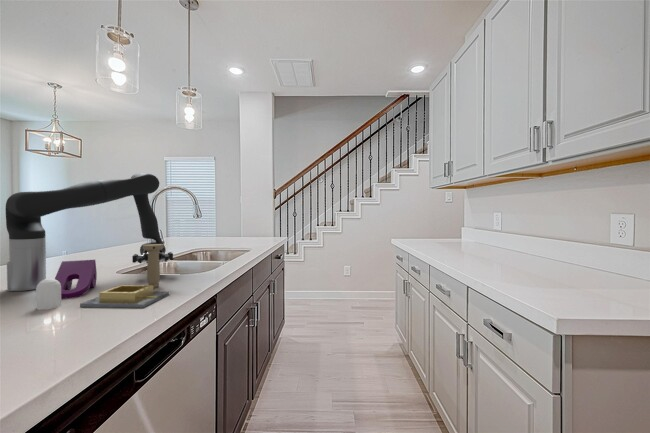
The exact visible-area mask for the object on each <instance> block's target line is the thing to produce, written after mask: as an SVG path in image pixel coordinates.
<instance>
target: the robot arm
mask: <svg viewBox="0 0 650 433" xmlns="http://www.w3.org/2000/svg"><path fill="white" fill-rule="evenodd" d="M159 186H160V180H159V178H158V177H157V175H156V176H155V175H154V174H152V173H146V172H143V173H141V172H139V173H134V174H133V175H132V176H130V177H129V178H123V179H121V178H120V179H118V178H117V179H116V178H115V179H100V180H99V179H98V180H93V181H85V182H80V183H77V184H74V185H71V186H68V187H64V188H61V189H56V190H55V189H54V190H43V191H42V190H40V191H19V192H15V193H13V194H11V195H9V196H8V198H7V200H6V203H5V226H6V231H7V233H8V246H9V247H8V251H9V254H8V255H9V258H8V259H9V260H8V262H6V288H7V290H6V291H7V292H24V291H32V290H36V288H37V285H38V284H39V283H40V282H41V281H42V280H44V279H47V266H46V265H47V258H46V257H47V256H46V254H47V251H46V249H47V248H46V244H47V242H46V230H45V228H44V227H43V224H42V217H44V216H48V215H51V214H53V213H57V212H60V211H63V210H68V209H75V208H84V207H91V206H95V205H100V204H104V203H109V202H112V201H117V200H120V199H124V198H126V197H127V198H128V197H133V200H134V202H135V205H136V209H137V214H138V217H139V222H140V230H141V236H142V238H143V239H146V240H147V239H148V240H154V241H155V242H148V243H146V242H145V243H143V244H142V245H140V249H139V253H140V254H137V253H135V254H133V255H132V259H131V261H132V264H133V263H134V264H135V263H139V264H142V263H146V264H148V251H146V250H144V249H143V245H148V244H164V242H163V240H162V238H161V235H160V230H159V224H158V218H157V216H156V213H155V212H154V209H153V208H152V205H151V203H150V199H149V194H150V195H151V194H152V193H155V192H156V191H157V190H158V189H159ZM173 260H174V253H173V252H172V251H170V252H167V253H166V246H165V245H164V247H163V249H161V250H159V263H161V262H164V263H166V262H168V261H173Z"/></svg>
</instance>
